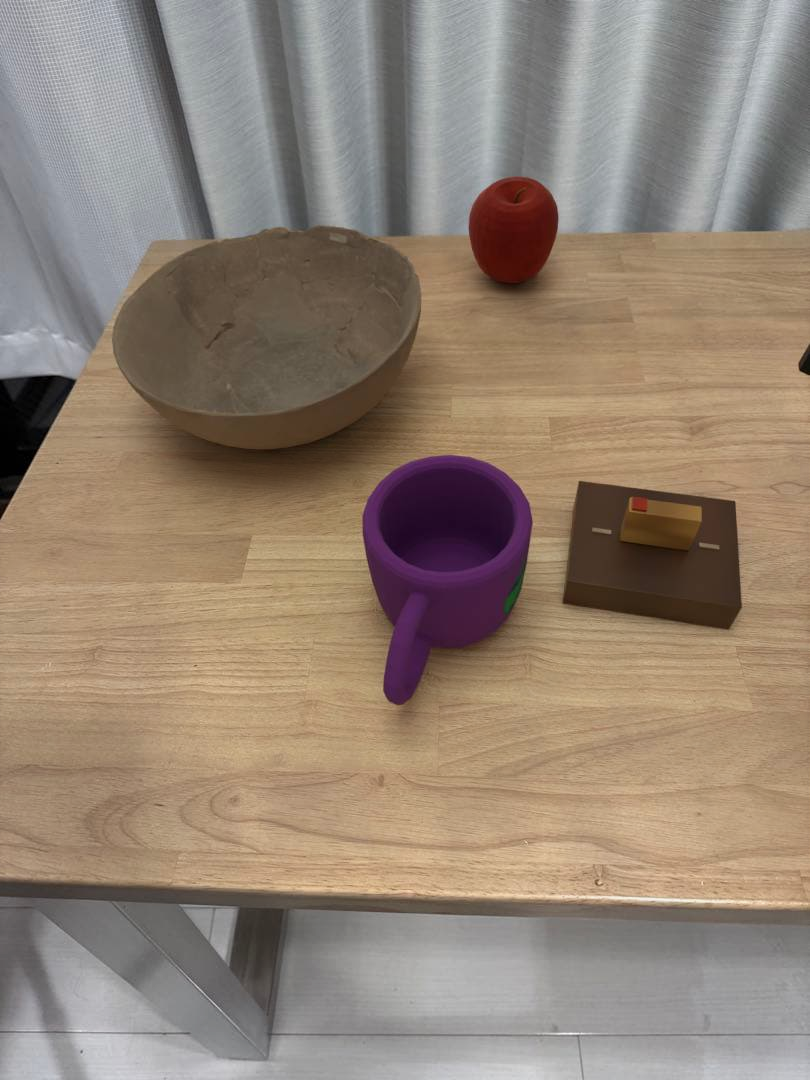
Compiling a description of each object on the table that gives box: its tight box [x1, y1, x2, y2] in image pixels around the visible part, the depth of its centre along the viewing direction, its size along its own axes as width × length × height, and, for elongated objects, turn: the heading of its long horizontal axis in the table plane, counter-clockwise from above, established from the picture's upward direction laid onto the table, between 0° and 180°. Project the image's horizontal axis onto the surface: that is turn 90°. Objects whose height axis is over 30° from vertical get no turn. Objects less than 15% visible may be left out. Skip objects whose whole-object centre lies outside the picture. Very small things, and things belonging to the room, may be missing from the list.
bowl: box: [111, 224, 422, 450], centre depth 68 cm, size 28×28×10 cm
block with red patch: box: [620, 497, 702, 551], centre depth 53 cm, size 5×1×4 cm, turn 77°
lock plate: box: [562, 480, 743, 630], centre depth 55 cm, size 12×10×3 cm
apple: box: [467, 176, 560, 284], centre depth 78 cm, size 10×10×10 cm
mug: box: [362, 454, 533, 706], centre depth 50 cm, size 17×11×10 cm, turn 160°
